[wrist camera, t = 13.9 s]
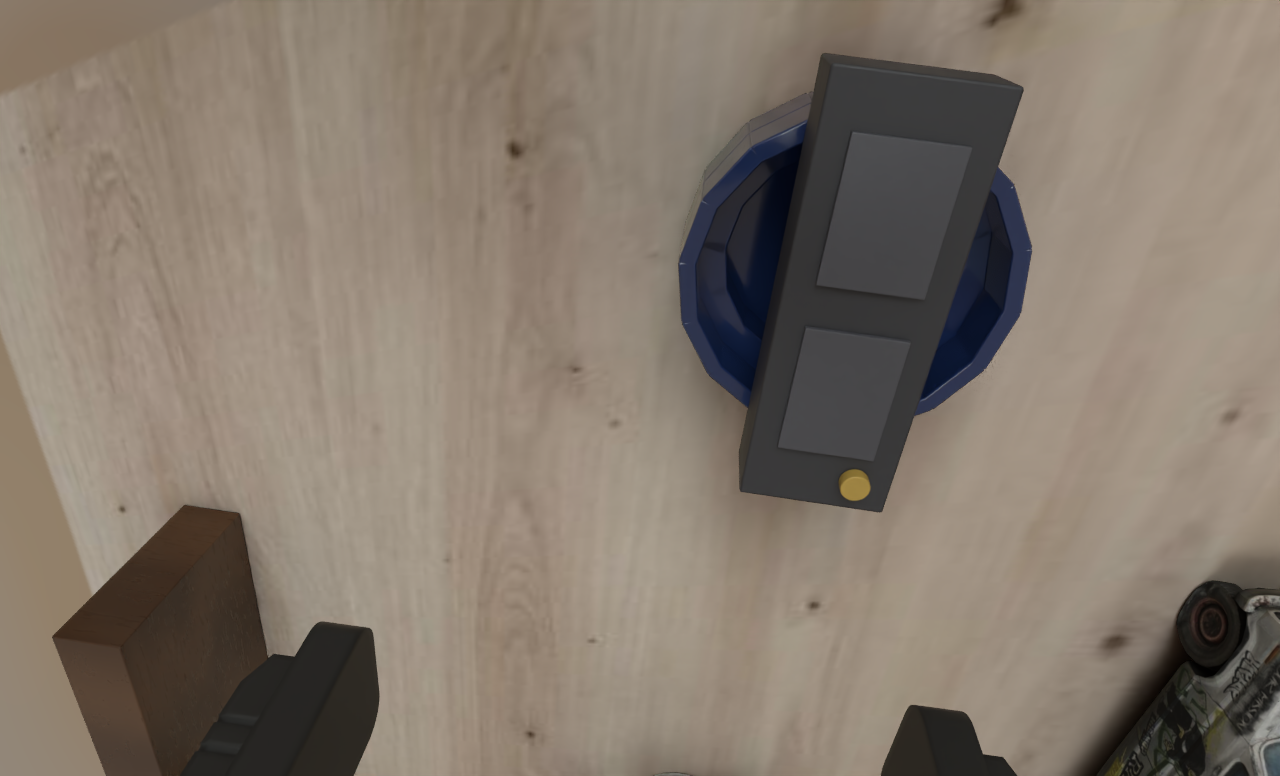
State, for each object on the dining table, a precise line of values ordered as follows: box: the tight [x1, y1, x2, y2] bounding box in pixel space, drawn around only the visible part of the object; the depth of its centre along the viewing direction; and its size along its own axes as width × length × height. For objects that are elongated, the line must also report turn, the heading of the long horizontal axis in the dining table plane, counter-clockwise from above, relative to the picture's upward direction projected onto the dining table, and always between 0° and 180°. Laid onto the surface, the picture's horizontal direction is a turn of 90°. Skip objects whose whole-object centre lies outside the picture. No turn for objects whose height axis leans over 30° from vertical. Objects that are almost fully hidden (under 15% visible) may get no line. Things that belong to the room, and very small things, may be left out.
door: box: [739, 53, 1024, 512], centre depth 24 cm, size 14×5×3 cm, turn 174°
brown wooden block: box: [52, 505, 268, 776], centre depth 40 cm, size 16×3×9 cm, turn 174°
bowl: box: [678, 92, 1032, 416], centre depth 27 cm, size 11×11×5 cm
